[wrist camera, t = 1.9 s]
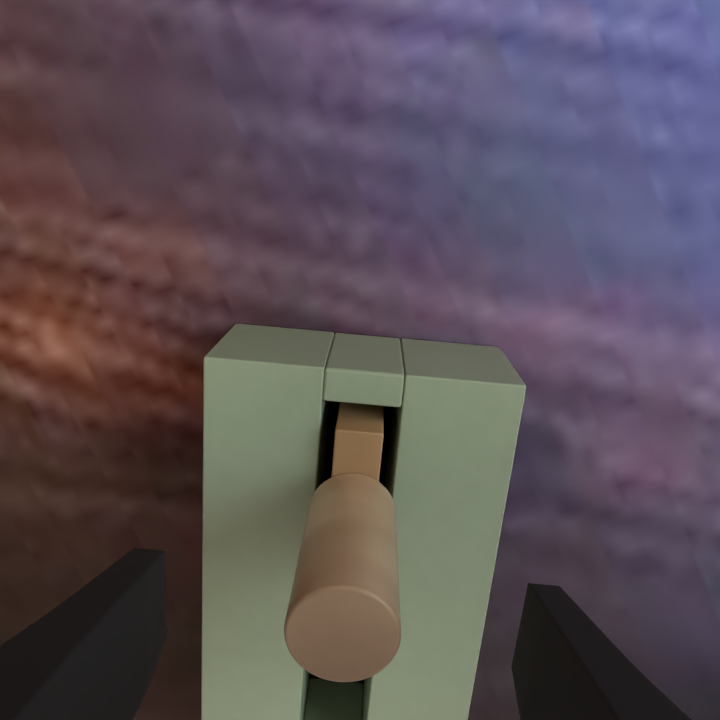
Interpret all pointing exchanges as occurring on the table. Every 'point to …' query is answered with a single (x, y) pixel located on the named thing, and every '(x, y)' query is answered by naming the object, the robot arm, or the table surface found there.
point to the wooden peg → (348, 561)
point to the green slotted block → (306, 473)
